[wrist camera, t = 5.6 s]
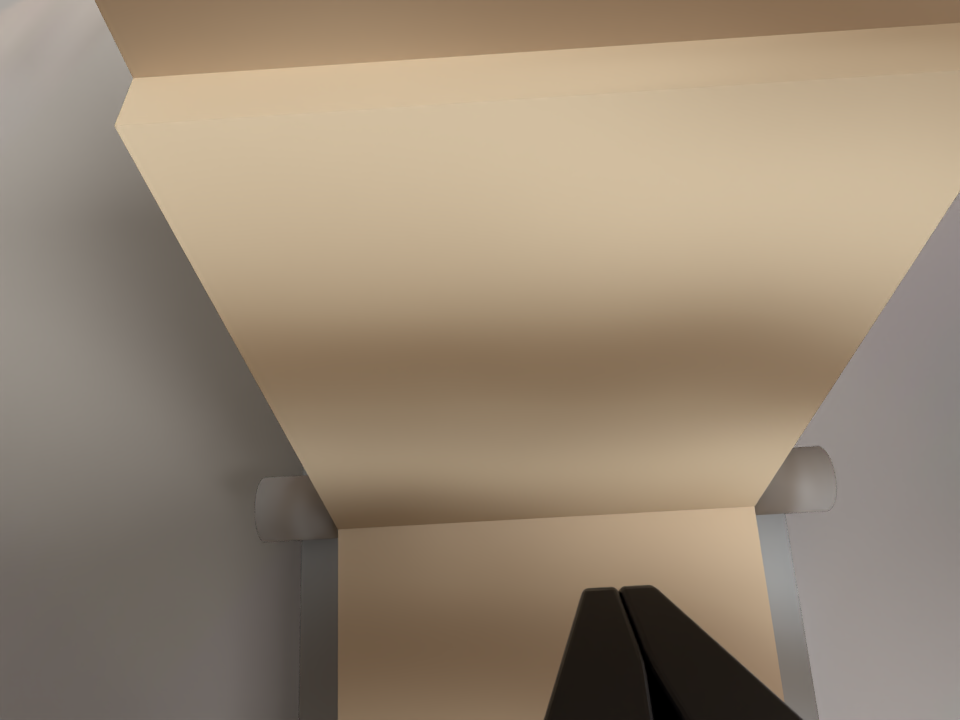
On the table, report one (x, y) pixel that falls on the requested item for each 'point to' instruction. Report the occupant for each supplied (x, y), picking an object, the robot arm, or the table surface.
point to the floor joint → (530, 597)
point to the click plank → (544, 229)
